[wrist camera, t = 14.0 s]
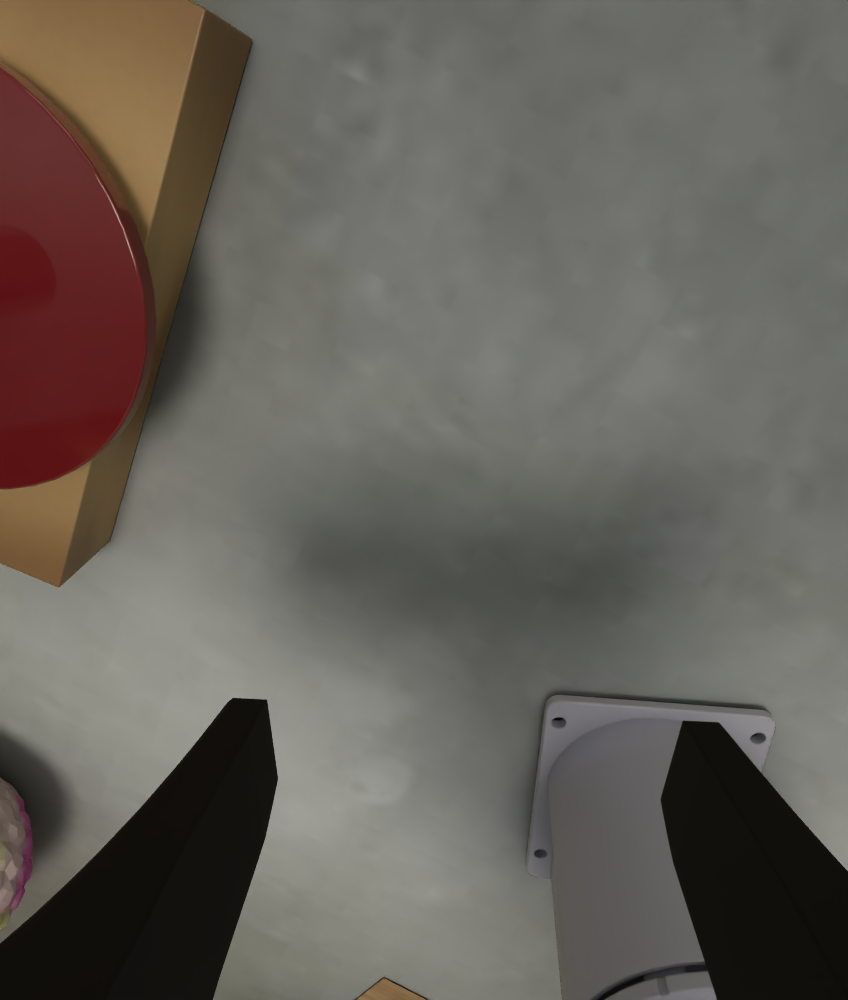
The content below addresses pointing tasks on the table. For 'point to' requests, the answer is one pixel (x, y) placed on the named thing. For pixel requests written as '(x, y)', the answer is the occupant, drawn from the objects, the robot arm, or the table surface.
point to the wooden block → (146, 190)
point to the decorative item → (13, 850)
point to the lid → (64, 295)
